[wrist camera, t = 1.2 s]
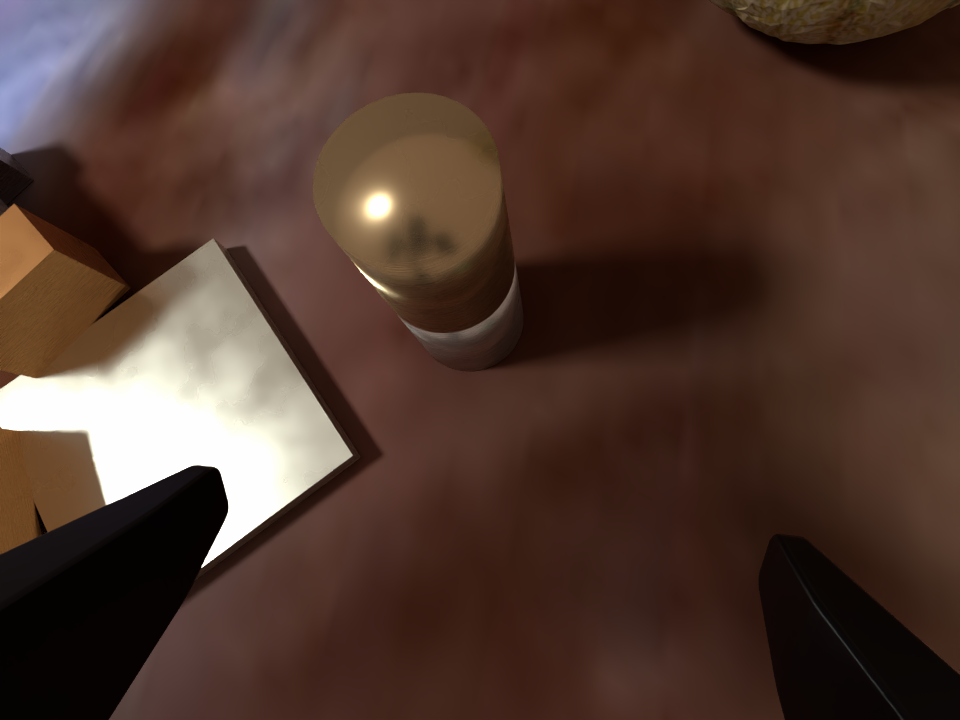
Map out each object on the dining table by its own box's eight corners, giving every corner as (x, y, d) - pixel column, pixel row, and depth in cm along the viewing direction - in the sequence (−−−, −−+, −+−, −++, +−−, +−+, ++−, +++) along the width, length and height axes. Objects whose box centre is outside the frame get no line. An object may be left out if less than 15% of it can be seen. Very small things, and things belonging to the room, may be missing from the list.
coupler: (458, 392, 23) (377, 301, 13) (398, 311, 24) (279, 165, 14) (545, 328, 23) (538, 184, 13) (482, 250, 25) (428, 60, 14)
